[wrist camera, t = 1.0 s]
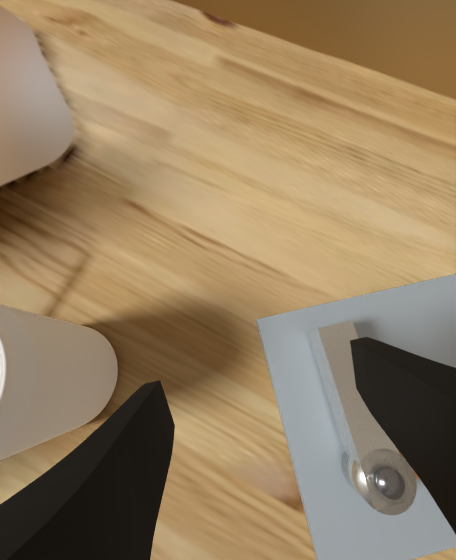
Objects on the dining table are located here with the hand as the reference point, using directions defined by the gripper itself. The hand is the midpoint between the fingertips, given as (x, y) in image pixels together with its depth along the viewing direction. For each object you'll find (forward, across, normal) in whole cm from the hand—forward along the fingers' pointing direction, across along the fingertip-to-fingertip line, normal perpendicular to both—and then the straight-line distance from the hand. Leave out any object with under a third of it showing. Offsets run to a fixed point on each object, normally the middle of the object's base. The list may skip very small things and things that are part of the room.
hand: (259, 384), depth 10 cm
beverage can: (+12, +15, +4) cm, 20 cm away
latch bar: (+9, -6, +10) cm, 15 cm away
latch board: (+10, -10, +11) cm, 18 cm away
